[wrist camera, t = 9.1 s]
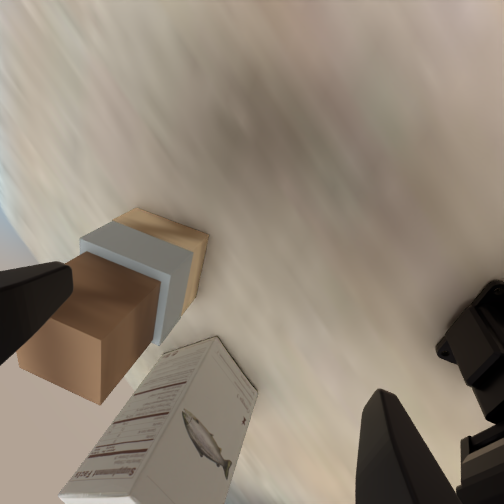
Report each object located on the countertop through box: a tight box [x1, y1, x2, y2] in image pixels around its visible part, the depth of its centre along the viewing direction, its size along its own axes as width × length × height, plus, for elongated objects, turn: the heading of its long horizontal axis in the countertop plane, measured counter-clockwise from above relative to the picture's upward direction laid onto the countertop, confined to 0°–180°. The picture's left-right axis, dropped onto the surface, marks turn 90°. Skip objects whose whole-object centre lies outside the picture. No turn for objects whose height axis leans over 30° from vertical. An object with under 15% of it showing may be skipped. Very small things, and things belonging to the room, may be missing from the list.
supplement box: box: [58, 337, 258, 504], centre depth 23 cm, size 7×7×13 cm
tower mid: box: [80, 221, 194, 346], centre depth 20 cm, size 6×6×3 cm
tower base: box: [112, 208, 209, 316], centre depth 23 cm, size 6×6×3 cm
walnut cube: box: [16, 251, 161, 405], centre depth 17 cm, size 5×5×5 cm
